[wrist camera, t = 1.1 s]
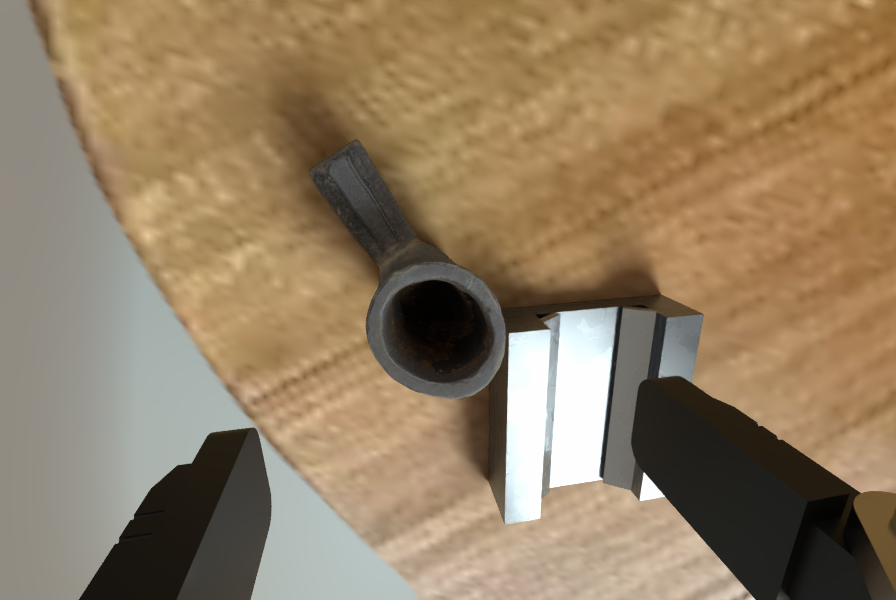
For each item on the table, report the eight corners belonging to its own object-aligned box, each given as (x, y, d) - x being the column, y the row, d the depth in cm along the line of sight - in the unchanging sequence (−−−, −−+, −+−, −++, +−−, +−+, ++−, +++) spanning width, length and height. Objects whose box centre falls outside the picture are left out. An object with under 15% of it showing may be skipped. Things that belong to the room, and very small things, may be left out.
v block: (489, 309, 28) (509, 333, 24) (661, 294, 30) (703, 314, 26) (488, 482, 32) (504, 524, 29) (638, 458, 34) (671, 495, 31)
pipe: (377, 126, 23) (382, 110, 16) (489, 306, 28) (534, 360, 20) (285, 187, 23) (247, 201, 16) (411, 356, 28) (428, 428, 20)
